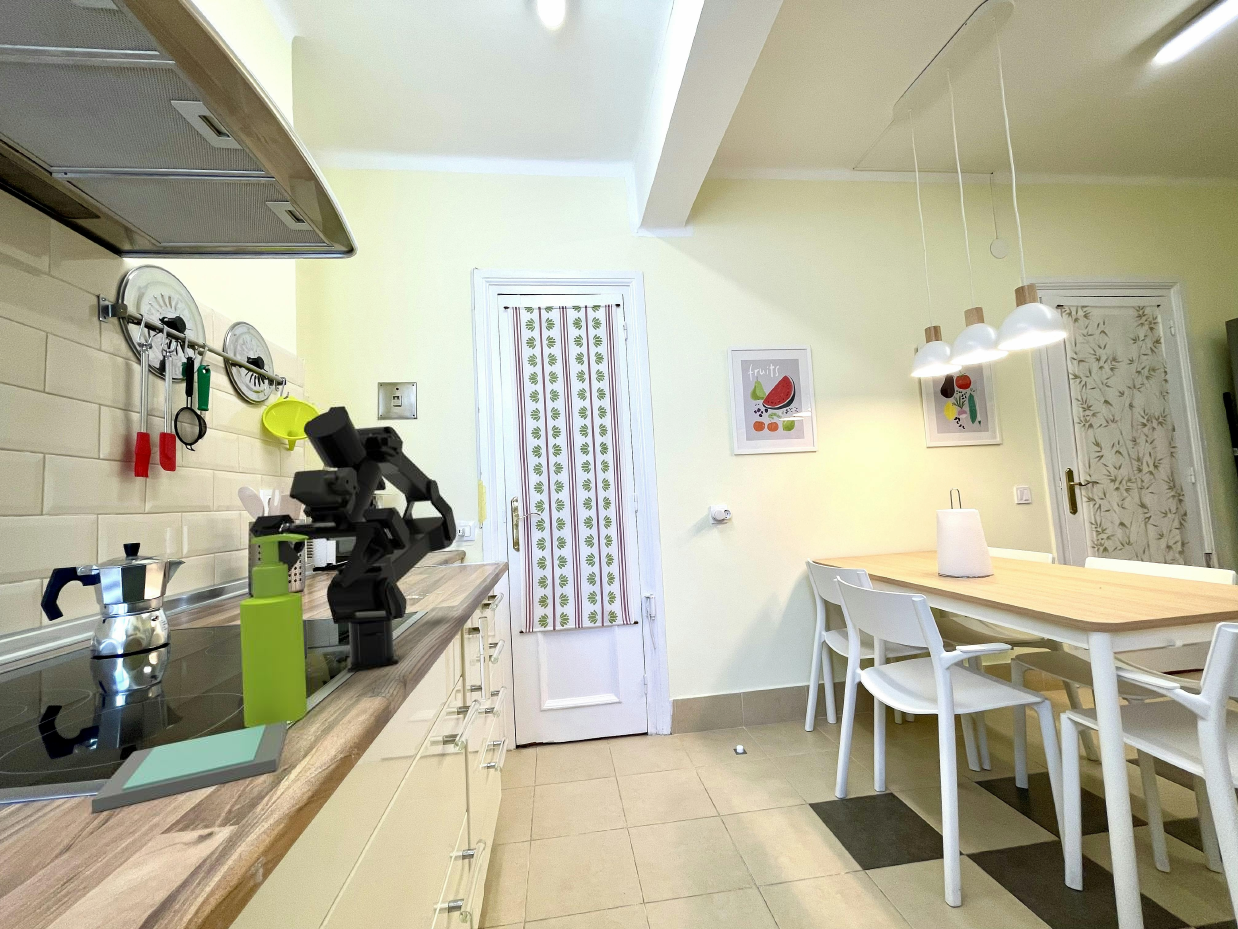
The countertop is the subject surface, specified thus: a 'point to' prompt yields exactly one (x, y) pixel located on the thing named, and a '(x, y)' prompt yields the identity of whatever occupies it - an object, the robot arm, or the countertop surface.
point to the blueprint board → (193, 765)
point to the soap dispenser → (272, 641)
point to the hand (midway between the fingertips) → (306, 586)
